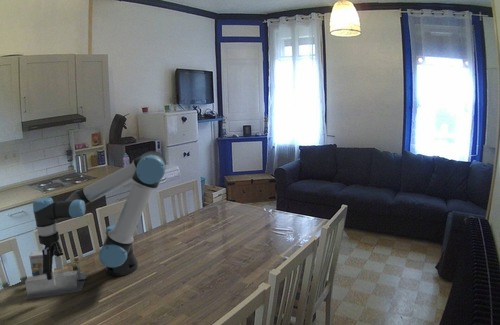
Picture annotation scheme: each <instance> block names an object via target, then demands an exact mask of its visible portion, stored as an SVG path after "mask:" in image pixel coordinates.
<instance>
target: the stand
mask: <svg viewBox="0 0 500 325" xmlns="http://www.w3.org/2000/svg"><path fill="white" fill-rule="evenodd" d="M73 261H74V262H71V264H70V266H71V268H72V271H75V270H78V278H79V282H81V281H85V282H86V280H87V277H88V273H89V272H81V271H80V264H79V262H80V257H78V256H77V257H73ZM36 264H37V266H42V262H37V263H36ZM32 271H33V272H34V273H35V276H38V275H42V270H41V267H36V268H33V269H32V270H31V272H32Z"/></svg>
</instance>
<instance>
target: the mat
mask: <svg viewBox="0 0 500 325" xmlns="http://www.w3.org/2000/svg"><path fill="white" fill-rule="evenodd" d="M85 282H86V280H85V281H80V282H79V286H78V288H77V289H72V290H65V291H58V292H52V293H45V294H38V295H31V296H27V295H26V297H25V300H26V301H27V300H33V299H40V298H48V297H53V296H59V295H60V296H61V295H67V294H74V293H78V292H79V293H80V292H82V291H83V288H84V286H85Z"/></svg>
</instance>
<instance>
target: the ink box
mask: <svg viewBox="0 0 500 325" xmlns="http://www.w3.org/2000/svg"><path fill="white" fill-rule="evenodd" d="M42 250H43V249H42ZM42 250H33V251H32V252H30V254H29V256H28V257H29V262H30V269H31V276H35V273H34V272H33V271H32V269H33V268H36V267H41V270H42V275H46V274H43V253H42ZM37 262H42V266H37V264H36V263H37ZM52 271H53V273H54V272H55V265H54V262H52Z"/></svg>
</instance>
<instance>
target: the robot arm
mask: <svg viewBox="0 0 500 325" xmlns="http://www.w3.org/2000/svg"><path fill="white" fill-rule="evenodd" d="M165 173H166V159H165V156H164V154H162V153H161V152H158V151H156V150H150V151H146V152H144V153H143V154H142V155H140V156H138V157H136V158H135V159H133V160H132V163H130V164H128V165H126V166H123V167H122V168H120V169H117V170H116V171H115V172H112V173H110V174H108V175H106V176H104V177H103V178H100V179H98V180H97V181H94V182H93V183H90V184H89V185H87V186H85V187H83V188H81V189H77V190H75V191H73V192H72V193H71V194H70V195H69V196H68V197H67V199H65V200H64V201H63V200H62V201H54V200H53V198H52V197H49V196H46V197H40V198H36V199H35V200H33V202H32V211H33V212H32V213H33V215H34V220H35V226H36V227H35V230H37V235H38V242H39V244H40V245H43V246H44V248H43V249H42V253H43V274H46V278H47V283H48V286H53V285H55V279H54V272H53V271H52V262H53V261H54V262H55V268H56V271H60V270H62V271H63V270H64V268H65V267H64V264H63V258H62V256H63V255H64V252H63V248H62V246H61V244H60V242H59V241H60V234H59V231H58V229H59V228H58V227H59V226H58V223H57V220H63V219H76V218H80V217H81V218H82V217H83V216H84V215H85V214H86V211H87V210H86V208H87V207H86V206H87V205H88V204H91V203H92V202H94V201H97V200H98V199H100V198H102V197H104V196H106V195H107V194H110V193H111V192H113V191H115V190H118V189H119V188H122V187H124V186H125V185H127V184H129V183H131V182H132V183H133V184H132V185H131V186H132V187H131V189H130V191H129V193H128V194H127V198H126V200H125V202H124V205H123V207H122V209H121V212H120V213H119V216H118V218H117V219H116V220H117V221H116V223H115V224H112V225H109V226H107V227H106V228H105V240H104V242H103V244H102V246H101V248H100V250H99V252H98V257H99V262H101V264H102V265H103V266H105V271H106V274H107V275H109V276H112V277H121V276H126V275H130V274H132V273H133V272H135V271H137V269H139V262H138V259H137V257H136V255H135V253H134V248H133V247H134V246H133V243H134V241H135V240H134V239H135V238H134V236H133V235H134V232H135V230H136V228H137V226H138V223H139V221H140V219H141V217H142V214H143V212H144V210H145V208H146V205H147V203H148V202H149V199H150V196H151V194H152V192H153V190H156V189H158V186H159V185H160V182H161V180H162V178H163V177H164V175H165ZM54 262H53V263H54Z"/></svg>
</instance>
